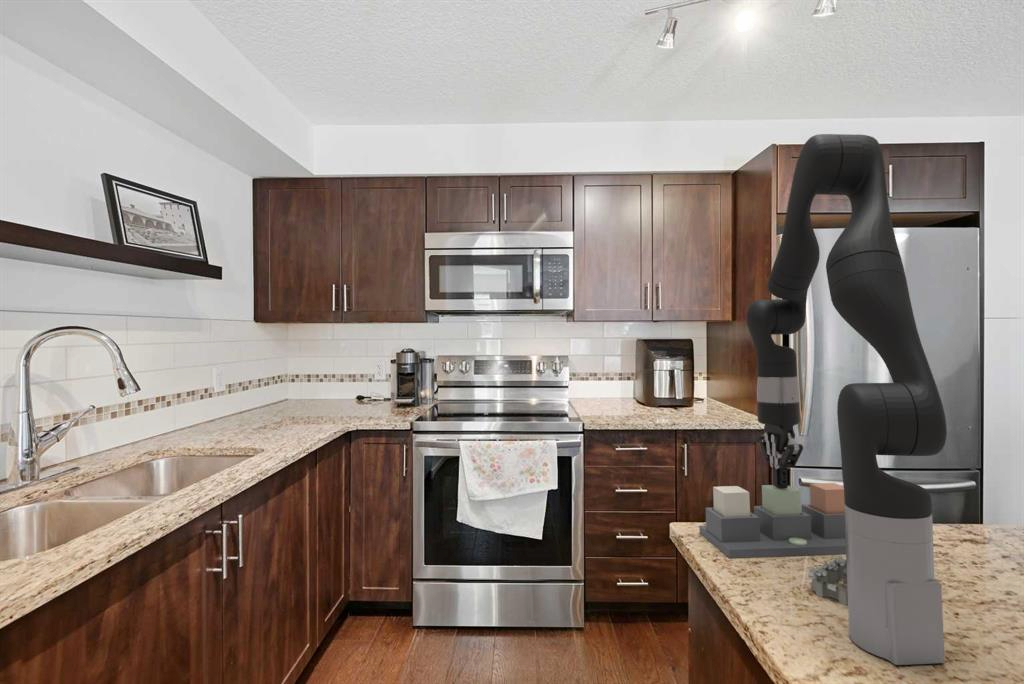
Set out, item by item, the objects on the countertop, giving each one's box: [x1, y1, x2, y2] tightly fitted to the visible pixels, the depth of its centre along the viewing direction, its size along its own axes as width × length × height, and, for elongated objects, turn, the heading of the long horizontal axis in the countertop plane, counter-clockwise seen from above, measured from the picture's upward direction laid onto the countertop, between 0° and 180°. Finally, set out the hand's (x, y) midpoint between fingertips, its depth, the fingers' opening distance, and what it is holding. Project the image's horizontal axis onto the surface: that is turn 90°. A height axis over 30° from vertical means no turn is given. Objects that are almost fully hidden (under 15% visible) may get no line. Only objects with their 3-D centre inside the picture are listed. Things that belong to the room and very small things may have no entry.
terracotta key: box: [809, 482, 845, 514], centre depth 107 cm, size 5×5×6 cm
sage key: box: [761, 484, 802, 516], centre depth 106 cm, size 5×5×6 cm
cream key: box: [712, 485, 751, 517], centre depth 106 cm, size 5×5×6 cm
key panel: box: [698, 503, 846, 559], centre depth 106 cm, size 14×28×6 cm, turn 92°
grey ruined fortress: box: [807, 555, 848, 606], centre depth 84 cm, size 11×8×4 cm
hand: (780, 487), depth 106 cm, fingers closed
